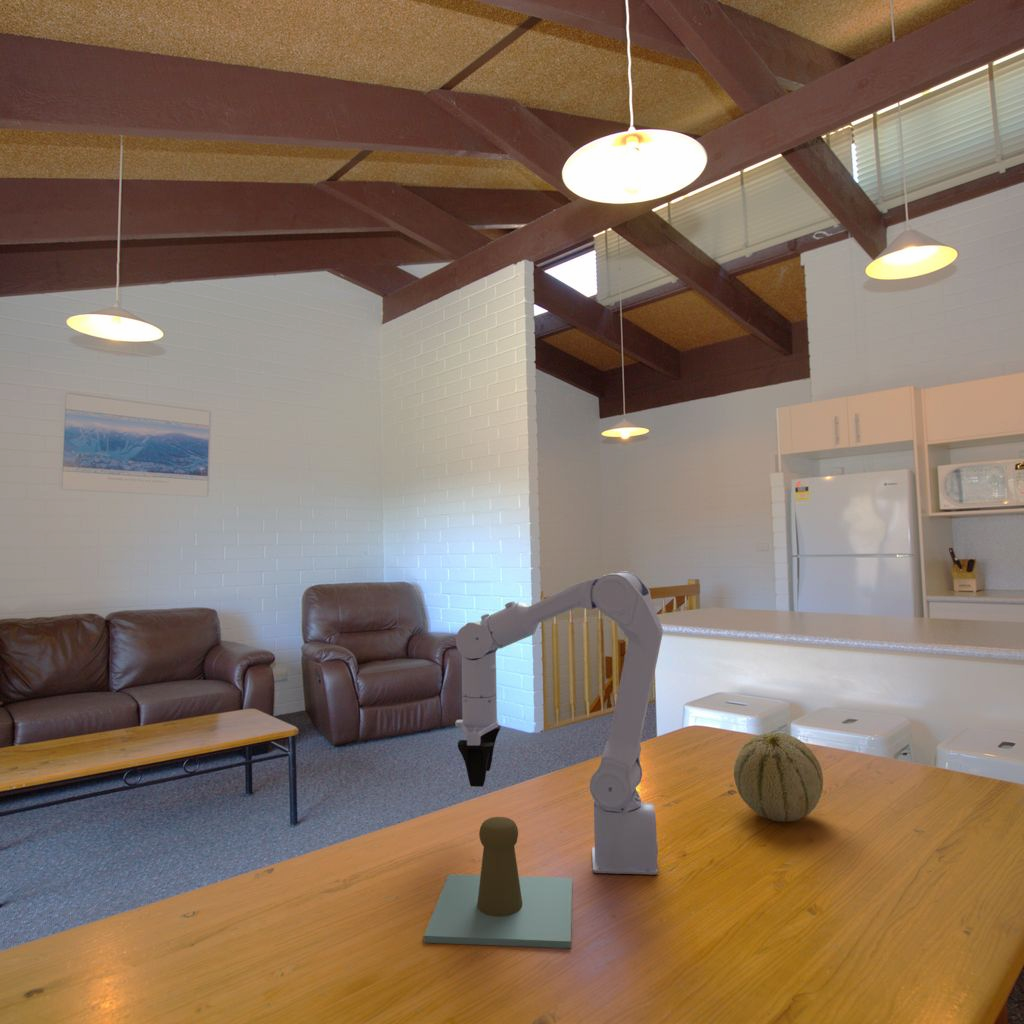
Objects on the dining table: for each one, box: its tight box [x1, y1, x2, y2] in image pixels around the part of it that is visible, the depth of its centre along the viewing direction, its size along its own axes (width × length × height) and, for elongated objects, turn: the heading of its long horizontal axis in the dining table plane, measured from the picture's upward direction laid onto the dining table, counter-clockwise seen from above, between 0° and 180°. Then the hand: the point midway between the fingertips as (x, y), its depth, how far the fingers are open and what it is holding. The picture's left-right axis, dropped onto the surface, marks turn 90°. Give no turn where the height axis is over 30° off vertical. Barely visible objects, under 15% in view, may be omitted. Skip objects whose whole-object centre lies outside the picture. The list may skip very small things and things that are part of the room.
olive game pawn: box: [477, 816, 522, 917], centre depth 92 cm, size 6×6×11 cm
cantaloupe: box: [733, 732, 824, 823], centre depth 122 cm, size 15×15×15 cm
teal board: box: [423, 873, 573, 949], centre depth 92 cm, size 18×16×1 cm
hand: (480, 777), depth 114 cm, fingers open, 7 cm apart
